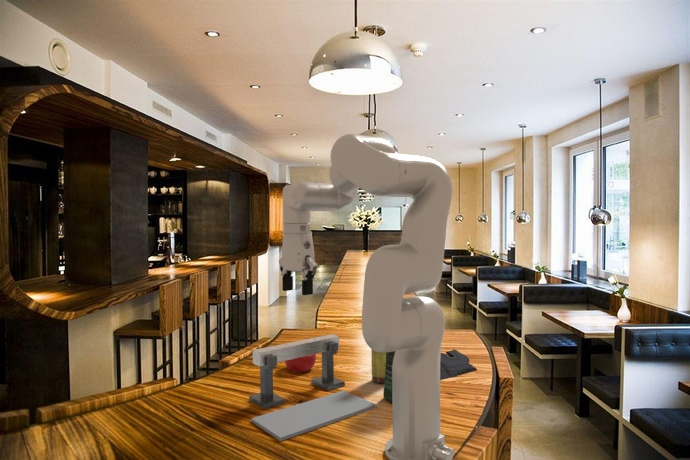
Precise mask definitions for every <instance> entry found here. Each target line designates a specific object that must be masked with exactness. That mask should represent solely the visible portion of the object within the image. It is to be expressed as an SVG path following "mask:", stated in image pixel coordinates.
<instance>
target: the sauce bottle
mask: <svg viewBox="0 0 690 460" xmlns="http://www.w3.org/2000/svg"><path fill="white" fill-rule="evenodd" d="M370 349H371V348H370ZM370 351H371V352H370V353H371V379H372V381H373V383H377V384H383V385H384V380H385V369H386V353H380V352H376V351H374V350H372V349H371V350H370Z"/></svg>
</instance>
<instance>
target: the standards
mask: <svg viewBox="0 0 690 460" xmlns="http://www.w3.org/2000/svg"><path fill="white" fill-rule="evenodd" d="M338 352H339V349H338V343H337V342H333V343H329V351H326V352H321V376H318V377H314V378H311V379H310V380H311V382H310V383H311V384H312V385H315V386H317V387H319V388H321V389H324V390H326V391H331V390H332V391H333V390H334V389H338V388H342V387H345V385H346V384H345V383H346V382H345V381H344V380H342V379H339V378H336V377H334V371H335V370H334V368H335V367H334V366H335V365H334V355H338ZM277 366H278V363H277V356H276V355H273V356H268V357H267V365H264V366H260V367H259V383H260V387H259V388H260V390H259V391H260V392H257V393H255V394H254V393H253V394H250V395H248V400H249V401H250V402H251V403H253V404H255V405H257V406H259V407H260V408H262V409H263V410H268V409H270V408H274V407H278V406H281V405H283V404H285V403H286V398H284V397H283V396H280V395H279V394H277V393H275V392H274V369H277Z"/></svg>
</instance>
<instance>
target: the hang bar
mask: <svg viewBox="0 0 690 460" xmlns="http://www.w3.org/2000/svg"><path fill="white" fill-rule="evenodd" d="M333 342H337V343H338V350H339V349H340V336H339V335H337V334H333V333H331V334H330V333H329V334H326V335H321V336H317V337H316V336H315V337H311V338H306V339H301V340H296V341H292V342H286V343H281V344H277V345H272V346H266V347H262V348H256V349H252V364H253V365H255V366H258V367H259V368H260V366H264V365H267V357H268V356H273V355H276V356H277V364H278V363H281V362H285V361H286V360H291V359H295V358H300V357H304V356H308V355H313V354H316V355H317V354H322V352H326V351H329V343H333Z"/></svg>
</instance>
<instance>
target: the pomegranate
mask: <svg viewBox="0 0 690 460" xmlns="http://www.w3.org/2000/svg"><path fill="white" fill-rule="evenodd" d="M316 361H317V354H313V355H308V356H304V357H300V358H295V359H291V360H286V361H284V362H285V366H286V368H287V369H288V370H289V371H291V372H293V373H306V372H308V371H310V370H311V369H313V368H314V366H315V364H316Z"/></svg>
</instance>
